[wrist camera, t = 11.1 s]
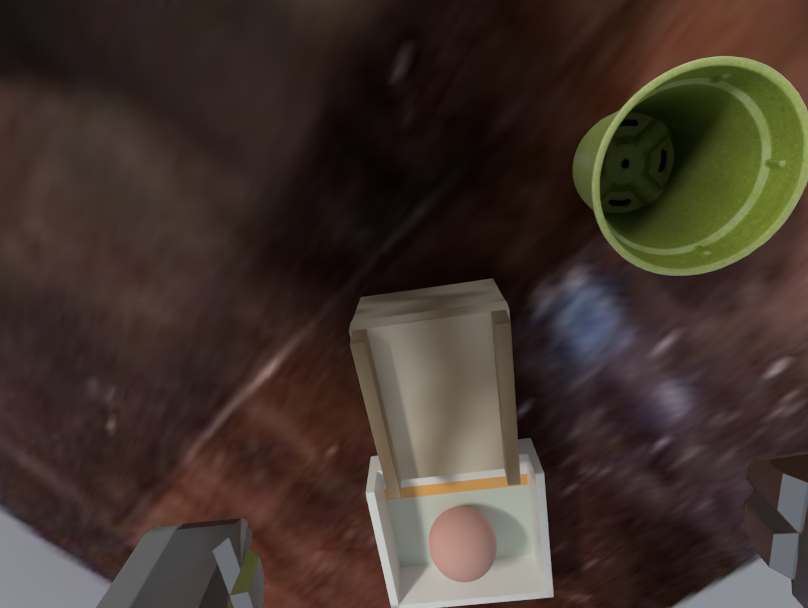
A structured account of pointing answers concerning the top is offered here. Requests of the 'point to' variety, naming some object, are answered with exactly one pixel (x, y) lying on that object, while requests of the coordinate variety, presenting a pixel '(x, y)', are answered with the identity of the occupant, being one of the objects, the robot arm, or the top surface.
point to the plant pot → (697, 166)
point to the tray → (489, 495)
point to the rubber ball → (462, 544)
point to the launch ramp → (438, 381)
